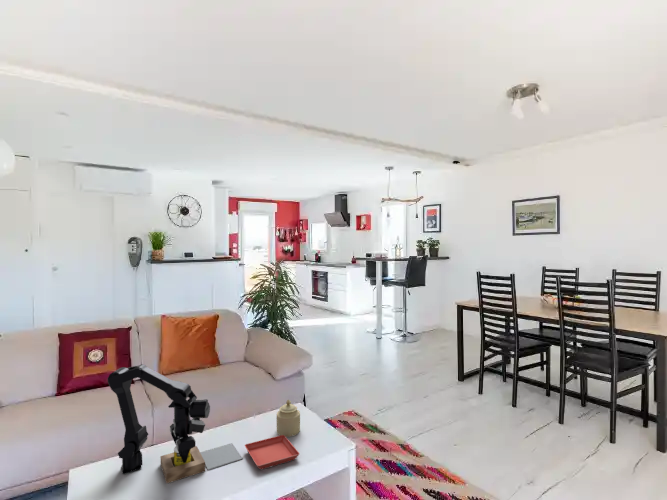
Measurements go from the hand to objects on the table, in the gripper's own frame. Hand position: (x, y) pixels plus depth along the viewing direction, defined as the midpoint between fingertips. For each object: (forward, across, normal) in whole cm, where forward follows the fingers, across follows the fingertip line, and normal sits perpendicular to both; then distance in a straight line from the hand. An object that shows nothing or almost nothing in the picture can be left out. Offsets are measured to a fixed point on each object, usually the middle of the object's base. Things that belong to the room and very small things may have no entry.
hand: (182, 456), depth 150 cm
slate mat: (+4, 0, -15) cm, 16 cm away
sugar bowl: (+5, +6, -48) cm, 49 cm away
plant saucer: (+5, -11, -33) cm, 35 cm away
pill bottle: (+5, 0, 0) cm, 5 cm away
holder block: (+4, 0, 0) cm, 4 cm away
